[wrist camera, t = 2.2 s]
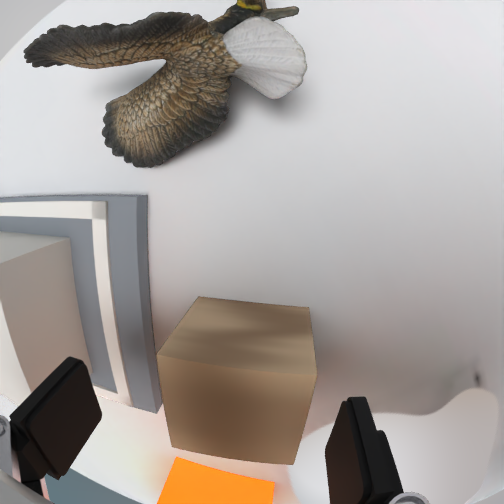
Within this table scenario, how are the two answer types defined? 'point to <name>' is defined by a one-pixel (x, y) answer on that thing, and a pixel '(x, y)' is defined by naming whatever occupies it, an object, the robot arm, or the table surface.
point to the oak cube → (239, 380)
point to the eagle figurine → (179, 71)
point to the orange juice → (212, 486)
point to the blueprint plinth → (77, 295)
